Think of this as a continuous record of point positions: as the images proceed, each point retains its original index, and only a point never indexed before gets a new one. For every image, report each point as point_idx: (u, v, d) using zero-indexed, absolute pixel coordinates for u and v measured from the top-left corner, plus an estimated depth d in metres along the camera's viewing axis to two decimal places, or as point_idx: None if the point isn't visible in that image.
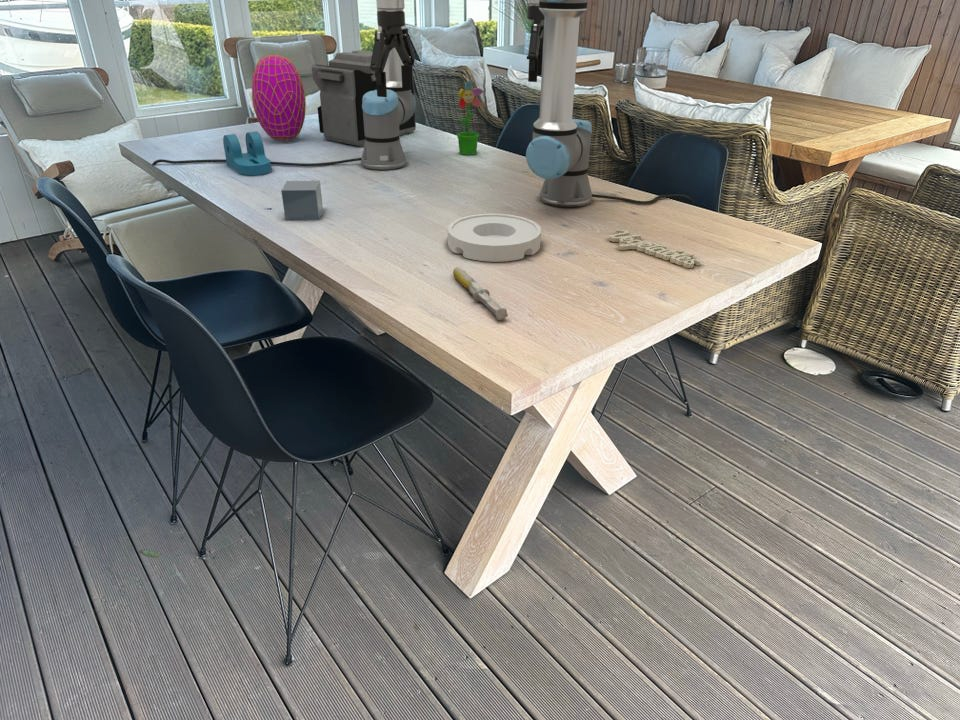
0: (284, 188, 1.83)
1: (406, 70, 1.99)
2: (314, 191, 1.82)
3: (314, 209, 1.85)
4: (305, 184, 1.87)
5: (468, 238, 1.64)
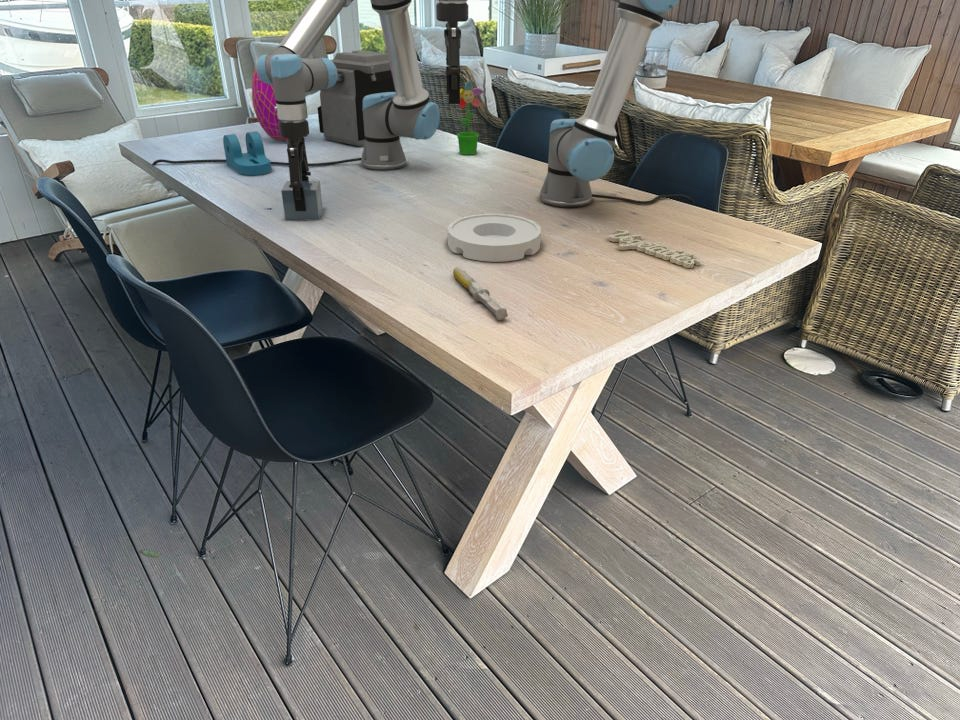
0: (284, 188, 1.83)
1: None
2: (314, 191, 1.82)
3: (314, 209, 1.85)
4: (305, 184, 1.87)
5: (468, 238, 1.64)
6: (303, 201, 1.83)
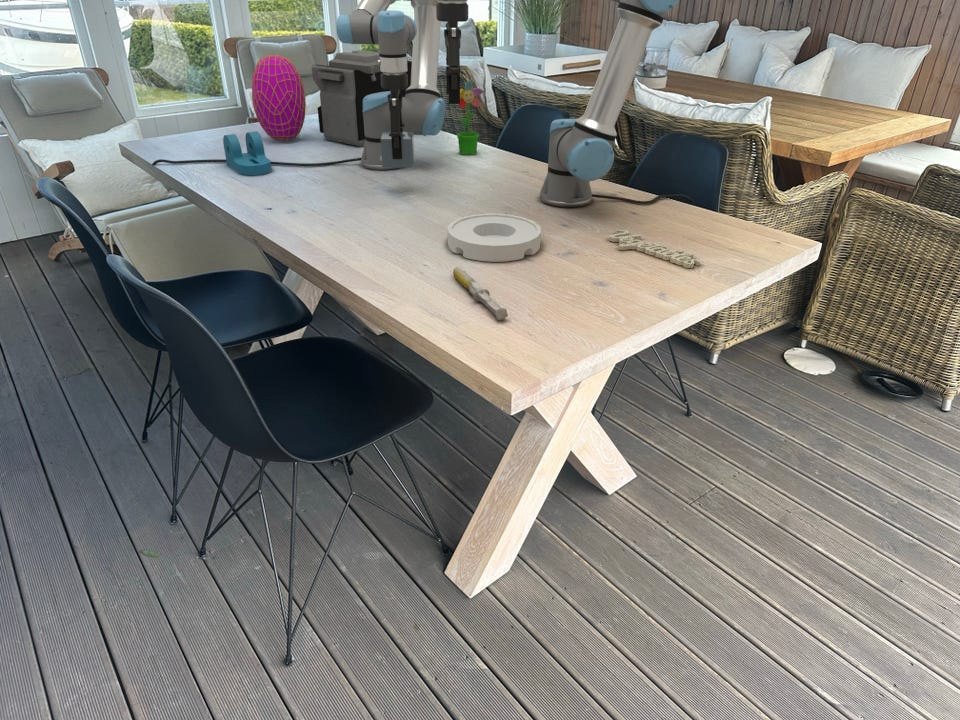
0: (383, 137, 1.98)
1: None
2: (410, 140, 1.97)
3: (409, 157, 1.99)
4: None
5: (468, 238, 1.64)
6: (400, 149, 1.97)
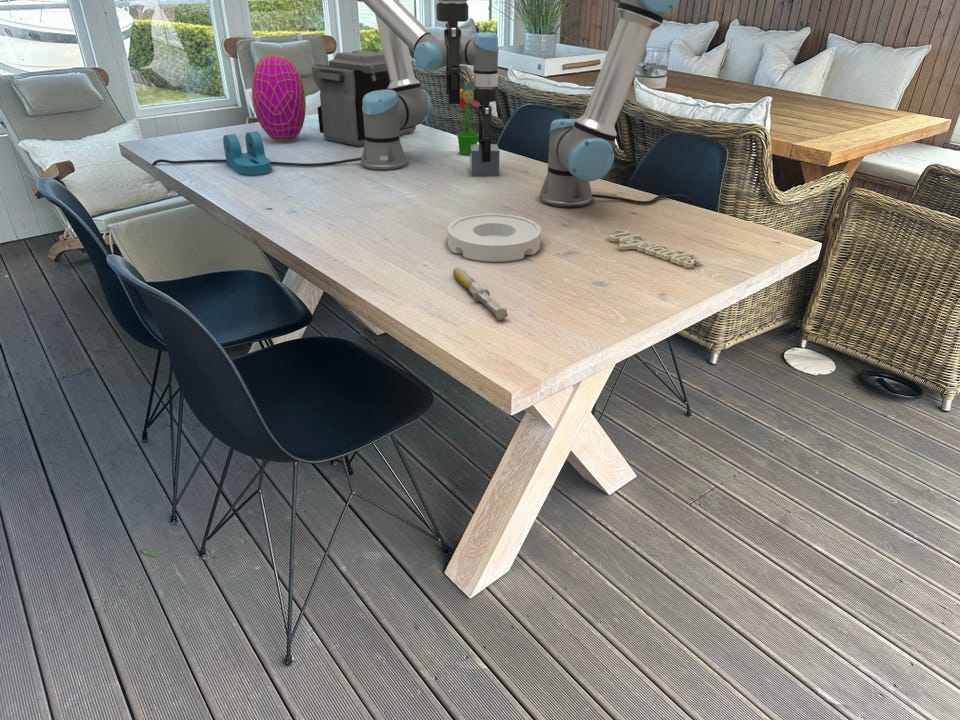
0: (473, 149, 2.22)
1: None
2: (498, 151, 2.21)
3: (496, 166, 2.24)
4: None
5: (468, 238, 1.64)
6: (489, 153, 2.19)
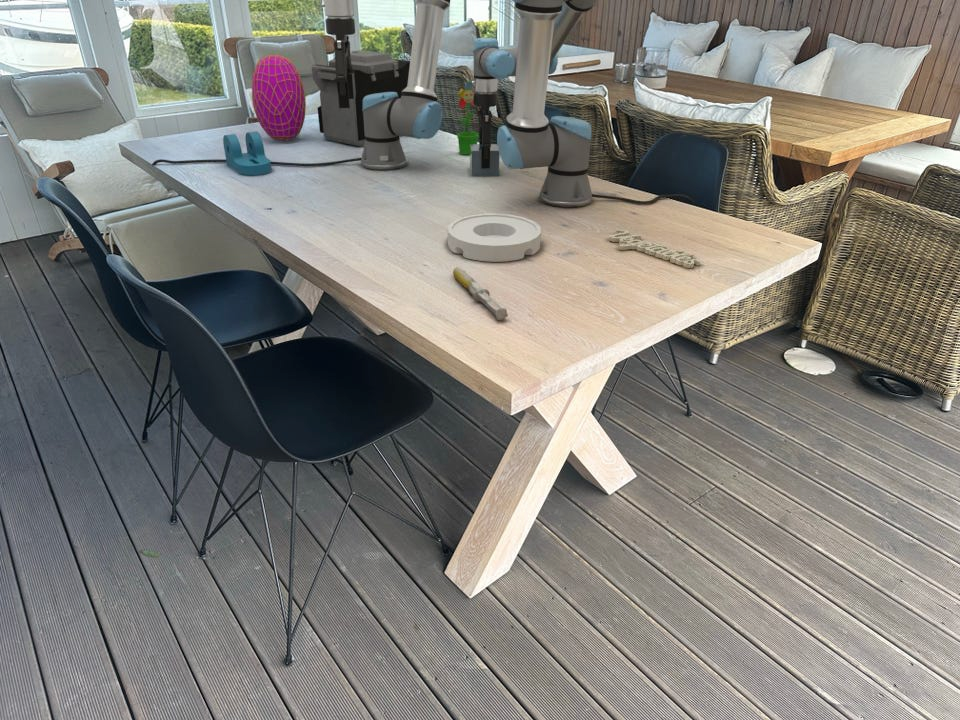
0: (473, 149, 2.22)
1: None
2: (498, 151, 2.21)
3: (496, 166, 2.24)
4: None
5: (468, 238, 1.64)
6: (347, 97, 1.82)
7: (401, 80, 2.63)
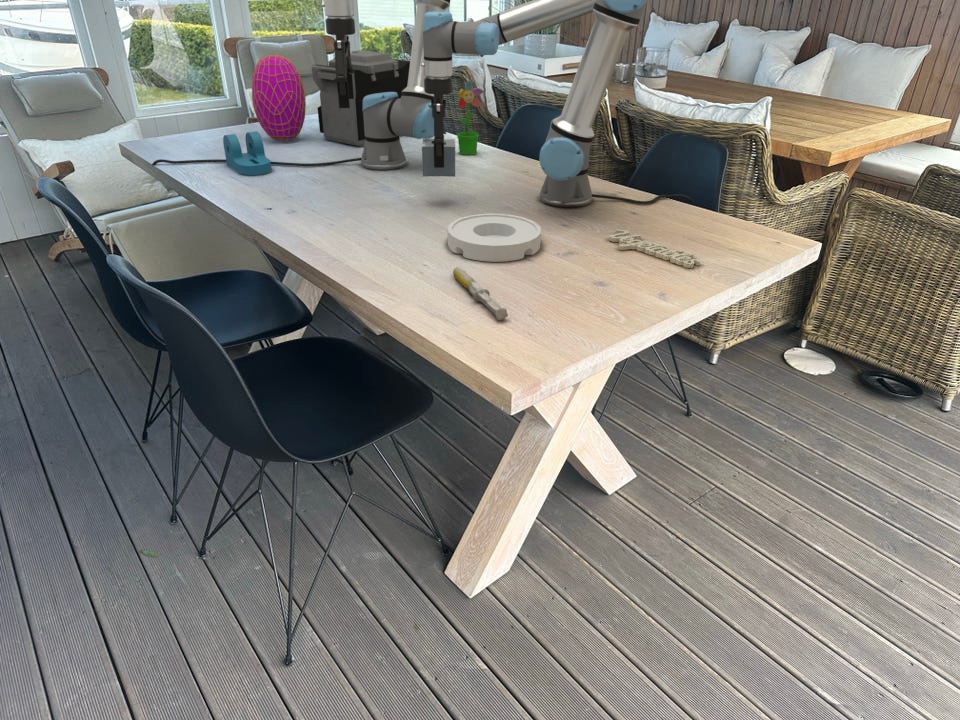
0: (424, 145, 1.88)
1: None
2: (453, 148, 1.87)
3: (451, 165, 1.89)
4: None
5: (468, 238, 1.64)
6: (347, 97, 1.82)
7: (401, 80, 2.63)
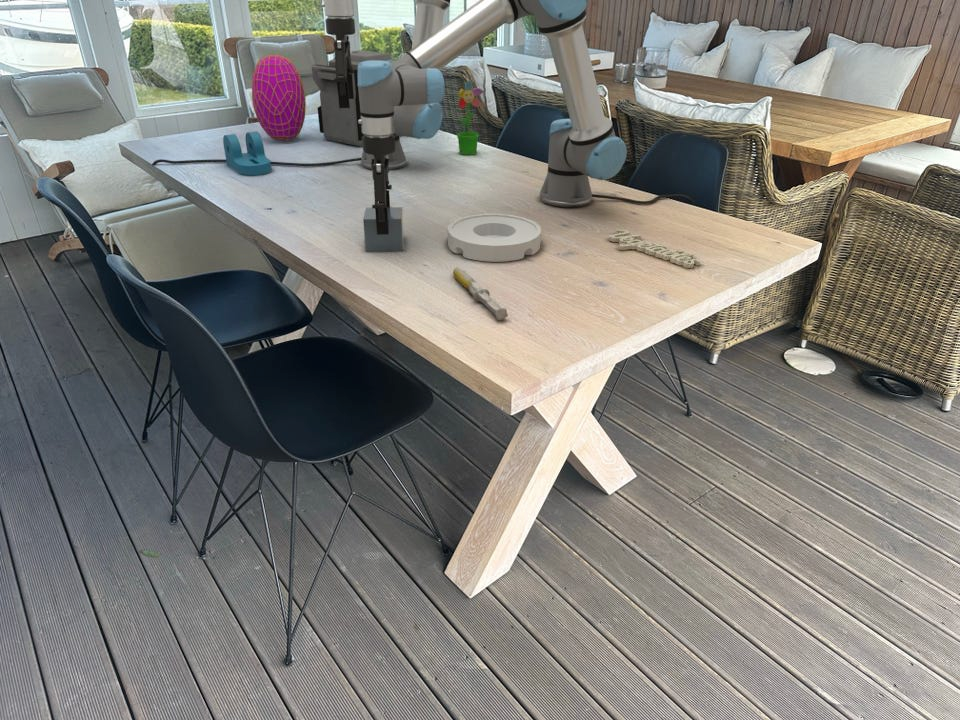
0: (366, 216, 1.64)
1: (385, 196, 1.71)
2: (399, 220, 1.63)
3: (398, 239, 1.66)
4: (387, 211, 1.68)
5: (468, 238, 1.64)
6: (347, 97, 1.82)
7: None
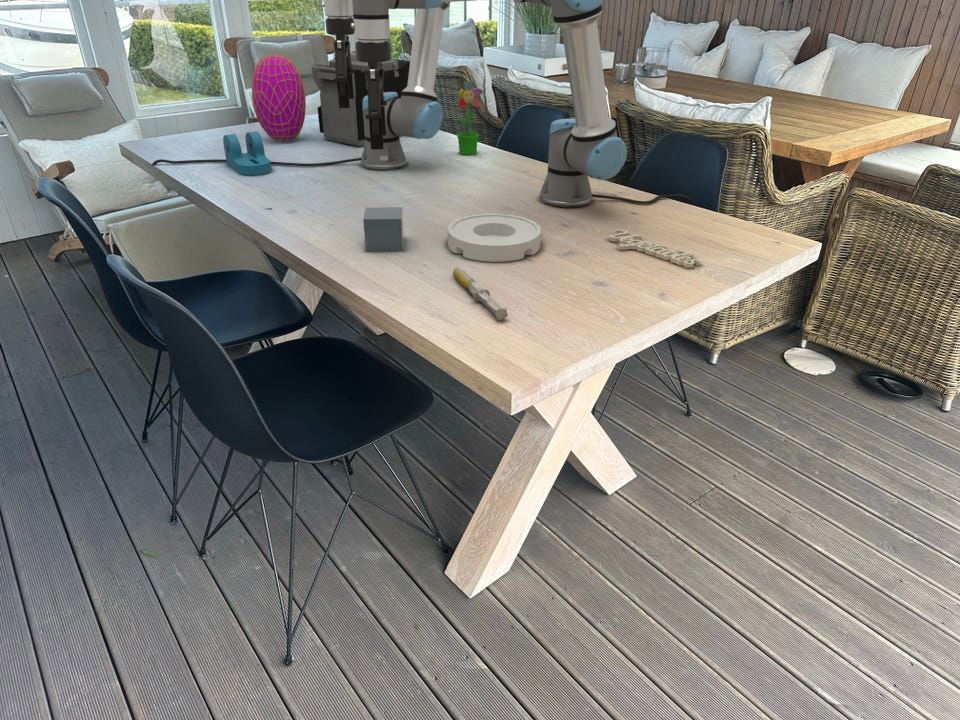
0: (366, 216, 1.64)
1: (380, 112, 1.61)
2: (399, 220, 1.63)
3: (398, 239, 1.66)
4: (387, 211, 1.68)
5: (468, 238, 1.64)
6: (347, 97, 1.82)
7: (401, 80, 2.63)
